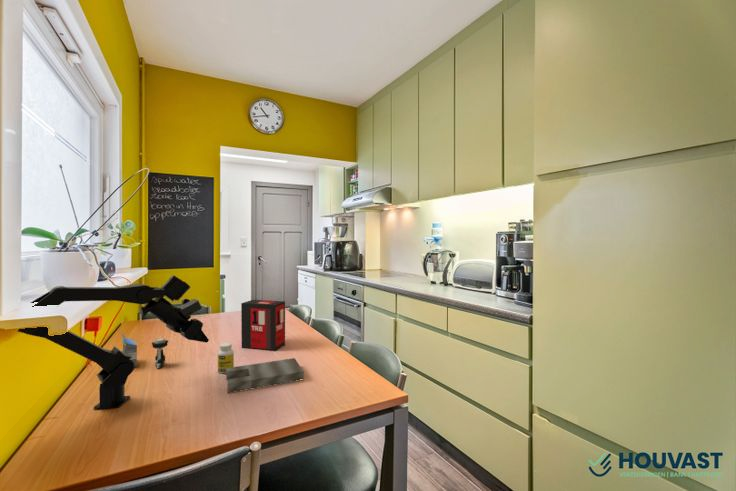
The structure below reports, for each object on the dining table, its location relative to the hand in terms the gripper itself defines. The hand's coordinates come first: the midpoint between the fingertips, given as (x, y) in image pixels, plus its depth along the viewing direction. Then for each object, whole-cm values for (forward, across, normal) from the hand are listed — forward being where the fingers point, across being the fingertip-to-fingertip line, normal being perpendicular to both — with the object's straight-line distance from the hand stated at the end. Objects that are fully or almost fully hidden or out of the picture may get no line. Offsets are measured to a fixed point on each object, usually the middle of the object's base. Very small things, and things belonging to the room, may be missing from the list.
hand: (202, 338), depth 116 cm
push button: (+5, +22, +15) cm, 27 cm away
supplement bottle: (+16, 0, +4) cm, 16 cm away
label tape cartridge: (0, +32, +20) cm, 38 cm away
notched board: (+20, -16, 0) cm, 26 cm away
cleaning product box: (+33, +15, -13) cm, 38 cm away
